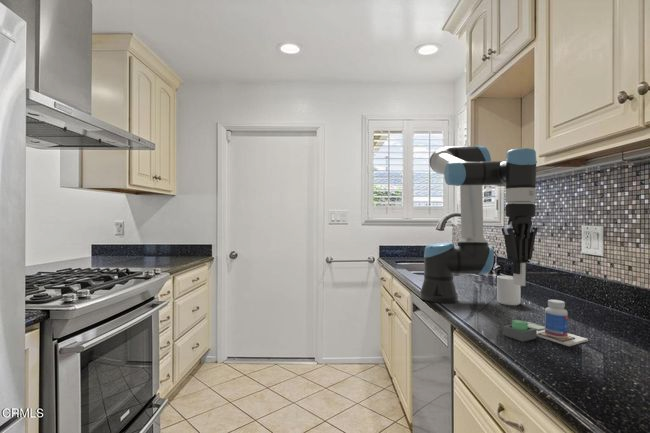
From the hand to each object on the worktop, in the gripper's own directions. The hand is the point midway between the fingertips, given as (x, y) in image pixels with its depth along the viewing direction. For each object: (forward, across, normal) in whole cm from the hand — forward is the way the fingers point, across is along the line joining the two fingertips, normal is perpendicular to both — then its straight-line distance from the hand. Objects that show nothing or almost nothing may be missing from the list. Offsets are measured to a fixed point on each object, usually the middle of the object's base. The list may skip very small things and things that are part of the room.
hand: (519, 284), depth 99 cm
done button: (+14, 0, -1) cm, 14 cm away
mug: (+16, +34, +27) cm, 46 cm away
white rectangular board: (+15, +9, -3) cm, 18 cm away
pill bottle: (+14, +8, -6) cm, 17 cm away
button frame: (+15, 0, -1) cm, 15 cm away
